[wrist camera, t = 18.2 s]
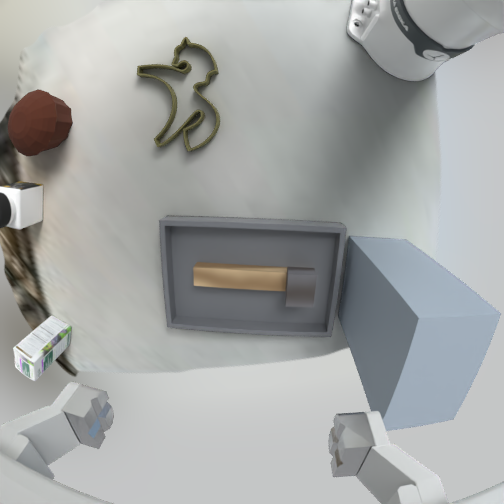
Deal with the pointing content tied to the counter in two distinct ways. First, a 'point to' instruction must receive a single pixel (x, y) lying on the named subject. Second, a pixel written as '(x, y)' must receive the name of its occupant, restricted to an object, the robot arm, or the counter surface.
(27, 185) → the medicine bottle
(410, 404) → the slate stand
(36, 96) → the muffin
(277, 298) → the charcoal tray
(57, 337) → the syrup box
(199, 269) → the oak handled hammer
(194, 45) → the cookie cutter
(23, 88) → the counter surface
